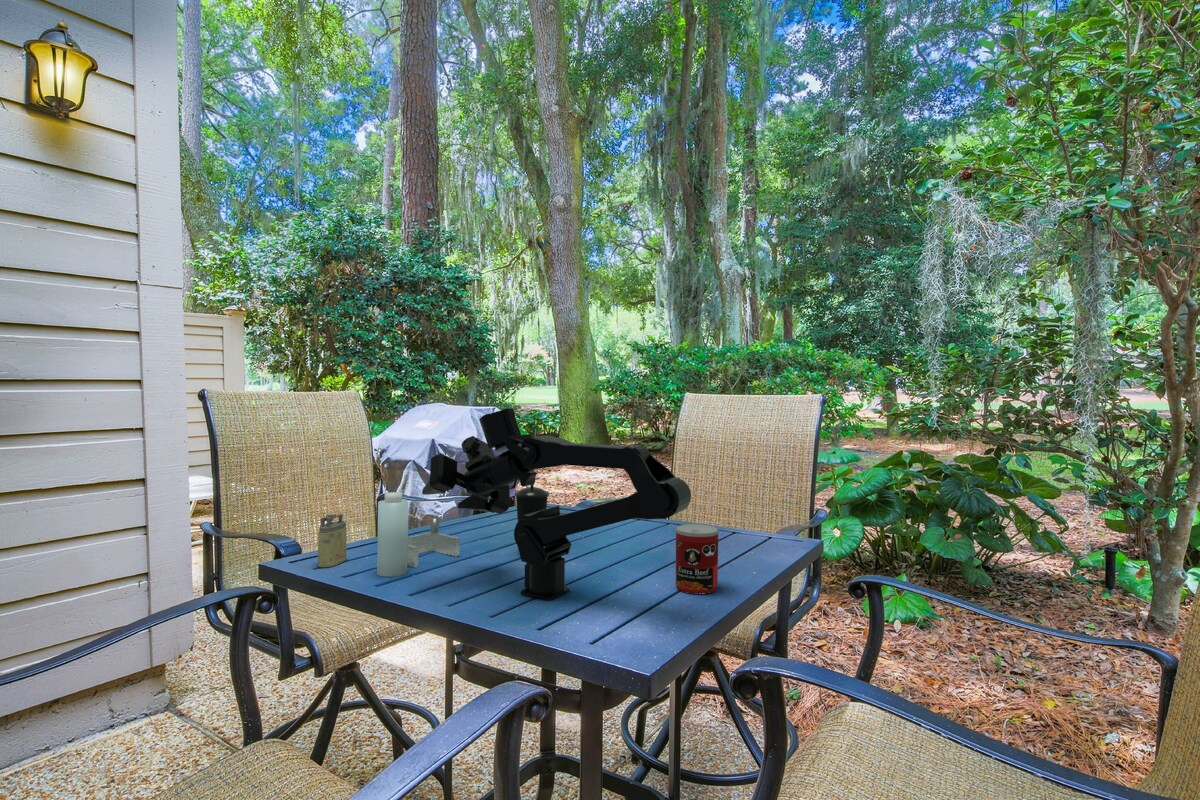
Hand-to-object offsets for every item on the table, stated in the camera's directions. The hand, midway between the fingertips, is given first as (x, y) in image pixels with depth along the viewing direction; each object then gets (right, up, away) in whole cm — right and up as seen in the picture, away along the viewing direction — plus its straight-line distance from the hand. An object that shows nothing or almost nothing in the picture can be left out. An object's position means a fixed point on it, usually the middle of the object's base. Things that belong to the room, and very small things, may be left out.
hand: (441, 499), depth 115 cm
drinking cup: (+16, -15, +15) cm, 27 cm away
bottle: (-10, -14, 0) cm, 17 cm away
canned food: (+49, -15, -8) cm, 52 cm away
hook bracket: (-7, -14, +11) cm, 19 cm away
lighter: (-24, -14, +6) cm, 29 cm away
